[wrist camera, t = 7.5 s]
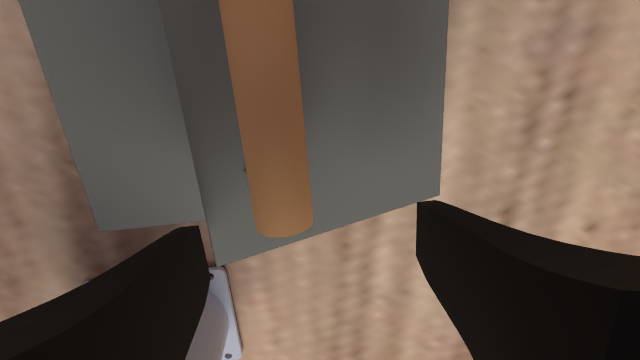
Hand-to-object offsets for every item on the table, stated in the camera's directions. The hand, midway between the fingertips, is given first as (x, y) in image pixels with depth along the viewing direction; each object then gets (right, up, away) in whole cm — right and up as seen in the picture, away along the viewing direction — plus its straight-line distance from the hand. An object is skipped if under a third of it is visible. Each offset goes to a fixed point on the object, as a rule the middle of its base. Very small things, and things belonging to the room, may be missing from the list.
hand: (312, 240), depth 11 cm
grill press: (+1, +7, +3) cm, 7 cm away
